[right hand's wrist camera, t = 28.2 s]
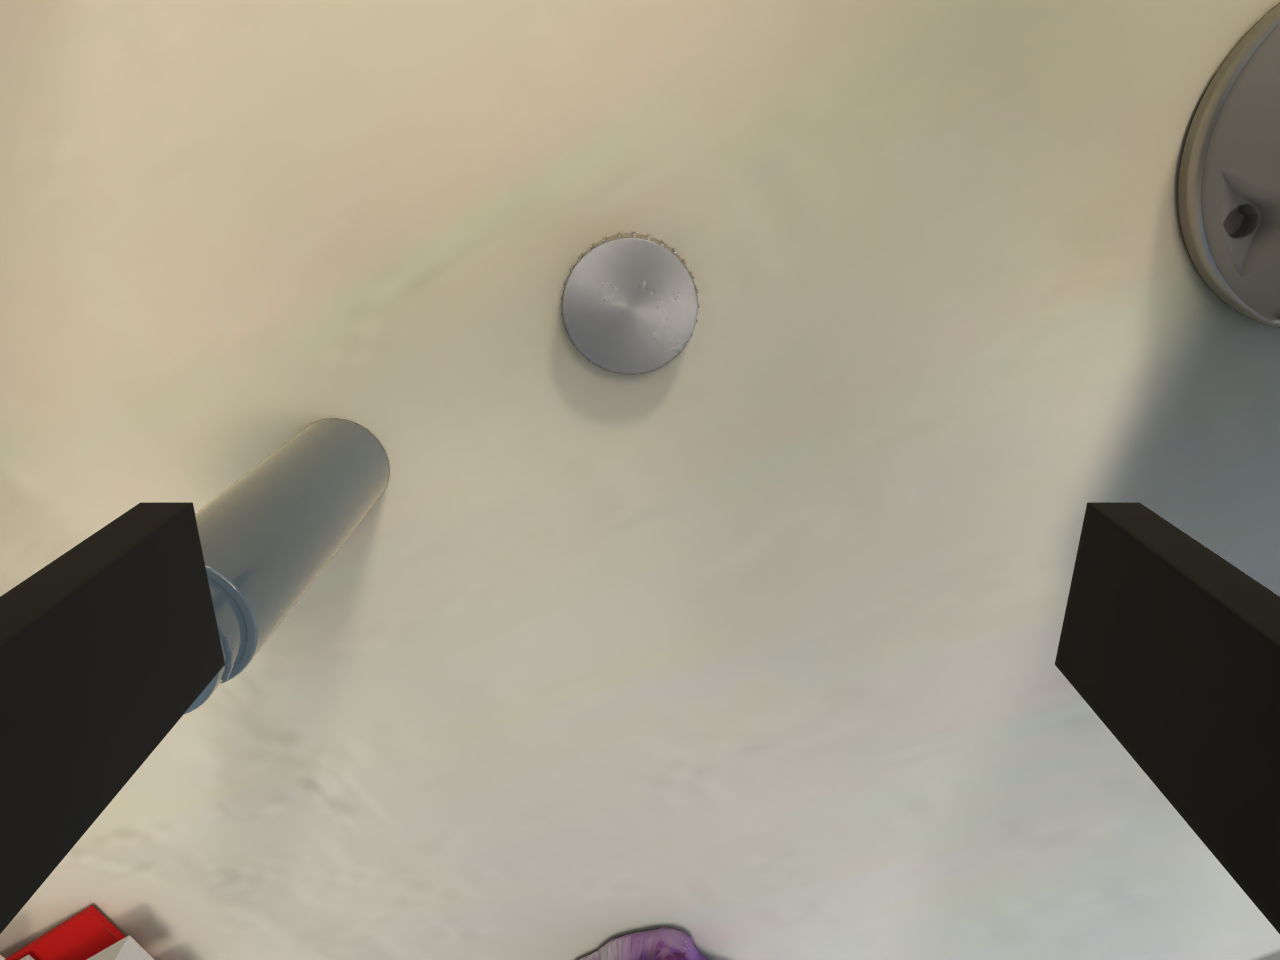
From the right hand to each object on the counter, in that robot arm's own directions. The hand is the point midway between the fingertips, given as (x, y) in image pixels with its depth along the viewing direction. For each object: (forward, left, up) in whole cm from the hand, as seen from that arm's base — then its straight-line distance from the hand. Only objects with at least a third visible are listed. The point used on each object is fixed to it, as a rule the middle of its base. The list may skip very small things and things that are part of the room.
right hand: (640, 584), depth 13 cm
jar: (+13, -11, -28) cm, 33 cm away
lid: (0, 0, -26) cm, 26 cm away
